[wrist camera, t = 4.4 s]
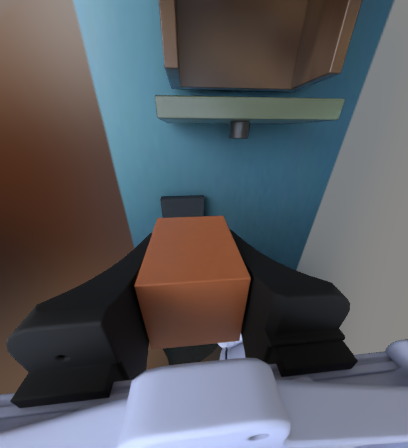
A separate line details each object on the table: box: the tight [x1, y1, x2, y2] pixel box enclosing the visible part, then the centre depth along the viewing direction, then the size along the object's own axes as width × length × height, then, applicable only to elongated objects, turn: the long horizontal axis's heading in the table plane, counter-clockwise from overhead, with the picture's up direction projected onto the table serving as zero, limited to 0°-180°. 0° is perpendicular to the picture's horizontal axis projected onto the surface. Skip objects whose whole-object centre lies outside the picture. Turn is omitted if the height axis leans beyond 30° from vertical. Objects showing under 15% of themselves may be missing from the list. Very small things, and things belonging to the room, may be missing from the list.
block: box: [134, 216, 251, 349], centre depth 9 cm, size 4×4×5 cm
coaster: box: [161, 195, 204, 218], centre depth 21 cm, size 5×5×1 cm
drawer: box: [155, 0, 362, 138], centre depth 12 cm, size 11×12×6 cm
